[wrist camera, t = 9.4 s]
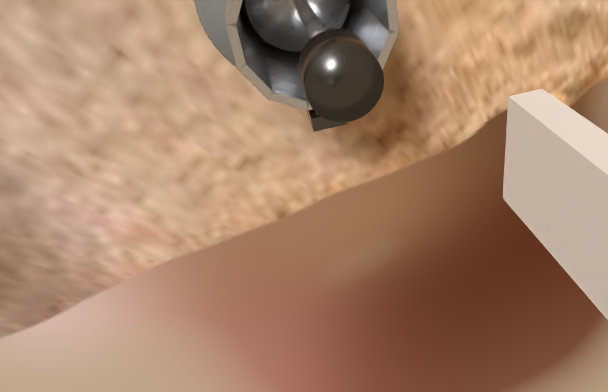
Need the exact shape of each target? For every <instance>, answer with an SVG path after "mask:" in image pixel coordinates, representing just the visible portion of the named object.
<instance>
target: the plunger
mask: <svg viewBox="0 0 608 392" xmlns="http://www.w3.org/2000/svg"><path fill="white" fill-rule="evenodd" d="M245 6H246V11H247V14H248V17H249V20H250V22H251V24H252V26H253V27H254V29H255V30H256V31H257V33H258V34H259V35H260V36H261V37H262V38H263V39H264V40H265V41H267V42H268V43H269V44H271V45H273V46H275V47H277V48H280V49H283V50H287V51H294V52H296V51H302V52H301V55H300V58H299V64H298V70H299V75H300V79H301V82H302V85H303V88H304V90H305V93H306V96H307V99H308V102H309V104H310V105H311V107H312V108H313V110H314V111H315V112H316V113H317V114H318V115H320V116H321V117H323V118H325V119H327V120H330V121H334V122H348V121H353V120H356V119H358V118H360V117H362V116H364V115H365V114H367V113H368V112H369V111H370V110H371V109H372V108H373V107H374V106H375V105H376V103H377V102H378V100H379V98H380V96H381V94H382V91H383V85H384V76H383V71H382V68H381V66H380V64H379V62H378V61H377V59H376V58H375V57H374V55H373V54H372V53H371V51H370V50H369V49H368V47H367V46H366V45H365V44H364V42H363V41H362V40H361V39H360V38H359V37H358V36H357V35H356V34H354V33H352V32H350V31H348V30H344V29H340V28H341V26H342V24H343V23H344V21H345V19H346V16H347V14H348V10H349V6H350V0H245Z"/></svg>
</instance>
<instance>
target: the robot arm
mask: <svg viewBox="0 0 608 392" xmlns="http://www.w3.org/2000/svg"><path fill="white" fill-rule="evenodd" d="M503 199H504V200H505V201H506V202H507V203H508V204H509V206H510V207H511V208H512V209H513V210H514V211H515V213H516V214H517V215H518V216H519V217H520V219H521V220H522V221H523V222H524V223H525V224H526V225H527V227H528V228H529V229H530V230H531V231H532V232H533V234H534V235H535V236H536V237H537V238H538V239H539V241H540V242H541V243H542V244H543V245H544V246H545V248H547V250H548V251H549V252H550V253H551V254H552V256H553V257H554V258H555V259H556V260H557V261H558V263H559V264H560V265H561V266H562V267H563V268H564V270H565V271H566V272H567V273H568V274H569V275H570V277H571V278H572V279H573V280H574V281H575V282H576V284H577V285H578V286H579V287H580V288H581V289H582V290H583V292H584V293H585V294H586V295H587V296H588V297H589V299H590V300H591V301H592V302H593V303H594V304H595V306H596V307H597V308H598V309H599V310H600V311H601V312H602V314H603V315H604V316H605V317H606V318H607V319H608V134H607V133H605V132H604V131H603V130H601V129H600V128H598V127H597V126H595V125H594V124H593V123H591V122H590V121H588V120H587V119H585V118H584V117H583V116H581V115H579V114H578V113H577V112H575V111H574V110H572V109H571V108H569V107H568V106H567V105H565V104H564V103H562V102H561V101H559V100H558V99H556V98H555V97H553V96H552V95H551V94H549V93H548V92H546V91H545V90H543V89H539V90H535V91H530V92H526V93H521V94H517V95H513V96H509V97H508V116H507V133H506V150H505V168H504V185H503Z"/></svg>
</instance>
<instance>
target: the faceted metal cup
mask: <svg viewBox="0 0 608 392" xmlns="http://www.w3.org/2000/svg"><path fill="white" fill-rule="evenodd" d="M226 29H227V33H228V36H229V40H230V44H231V47H232V51H233V55H234V59H235V62H236V66H237V68H238V70H239V71H240V72H241V73H242V74H243V75H244V76H245V77H246V78H247V79H248V80H249V81H250V82H251V83H252V84H253V85H254V86H255V87H256V88H257V89H258V90H259V91H260V92H261V93H262V94H263V95H264V96H265V97H266V98H267V99H268V100H272V101H275V102H279V103H283V104H286V105H290V106H293V107H297V108H300V109H304V110H307V113H308V116H309V119H310V122H311V125H312V128H313V131H318V130H323V129H327V128H332V127H336V126H340V125H345V124H347V123H346V122H334V121H330V120H327V119H325V118H323V117H321V116H320V115H318V114H317V113H316V112H315V111H314V110H313V108H312V107H311V105H310V104H309V102H308V99H307V96H306V93H305V90H304V88H303V85H302V82H301V79H300V75H299V70H298V64H299V58H300V55H301V52H302V51H296V52H294V51H287V50H283V49H280V48H277V47H275V46H273V45H271V44H269V43H268V42H267V41H265V40H264V39H263V38H262V37H261V36H260V35H259V34H258V33H257V31H256V30H255V29H254V27H253V26H252V24H251V22H250V20H249V17H248V14H247V11H246V6H245V0H226ZM340 29H344V30H348V31H350V32H352V33H354V34H356V35H357V36H358V37H359V38H360V39H361V40H362V41H363V42H364V44H365V45H366V46H367V47H368V49H369V50H370V51H371V53H372V54H373V55H374V57H375V58H376V59H377V61H378V62H379V64H380V66H381V68H382V70H383V68H384V66H385V63H386V61H387V59H388V56H389V54H390V52H391V50H392V47H393V45H394V43H395V40H396V38H397V36H398V32H399V26H398V14H397V1H396V0H350V6H349V10H348V14H347V16H346V19H345V21H344V23H343V24H342V26H341V28H340Z"/></svg>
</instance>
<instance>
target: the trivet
mask: <svg viewBox="0 0 608 392" xmlns="http://www.w3.org/2000/svg"><path fill="white" fill-rule="evenodd" d="M194 2H195V6H196V10H197V13H198V16H199V19H200V21H201V24H202V26H203V28H204V30H205V32H206V34H207V36H208V37H209V38H210V40H211V41H212V43H213V44H214V46H215V47H216V48H217V49H218V50H219V52H220V53H221V54H222V55H223V56H224V57H225V58H226V59H228V60H229V61H230V62H231V63H232V64H233V65H235V66H236V62H235V59H234V55H233V51H232V47H231V44H230V40H229V36H228V33H227V29H226V0H194ZM236 67H237V66H236Z"/></svg>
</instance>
